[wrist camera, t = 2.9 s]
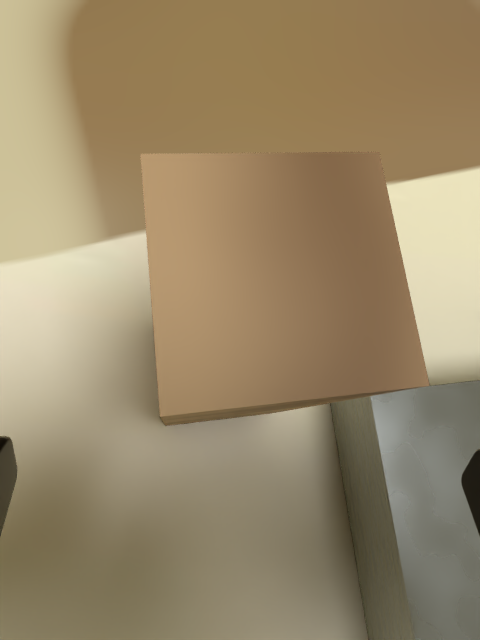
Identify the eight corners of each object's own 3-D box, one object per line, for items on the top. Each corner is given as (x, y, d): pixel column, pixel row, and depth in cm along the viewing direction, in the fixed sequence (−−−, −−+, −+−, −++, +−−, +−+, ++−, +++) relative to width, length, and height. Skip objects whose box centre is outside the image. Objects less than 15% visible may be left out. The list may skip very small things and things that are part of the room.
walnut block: (165, 425, 18) (160, 416, 7) (157, 320, 19) (140, 153, 8) (270, 413, 19) (429, 385, 7) (257, 313, 20) (378, 152, 8)
